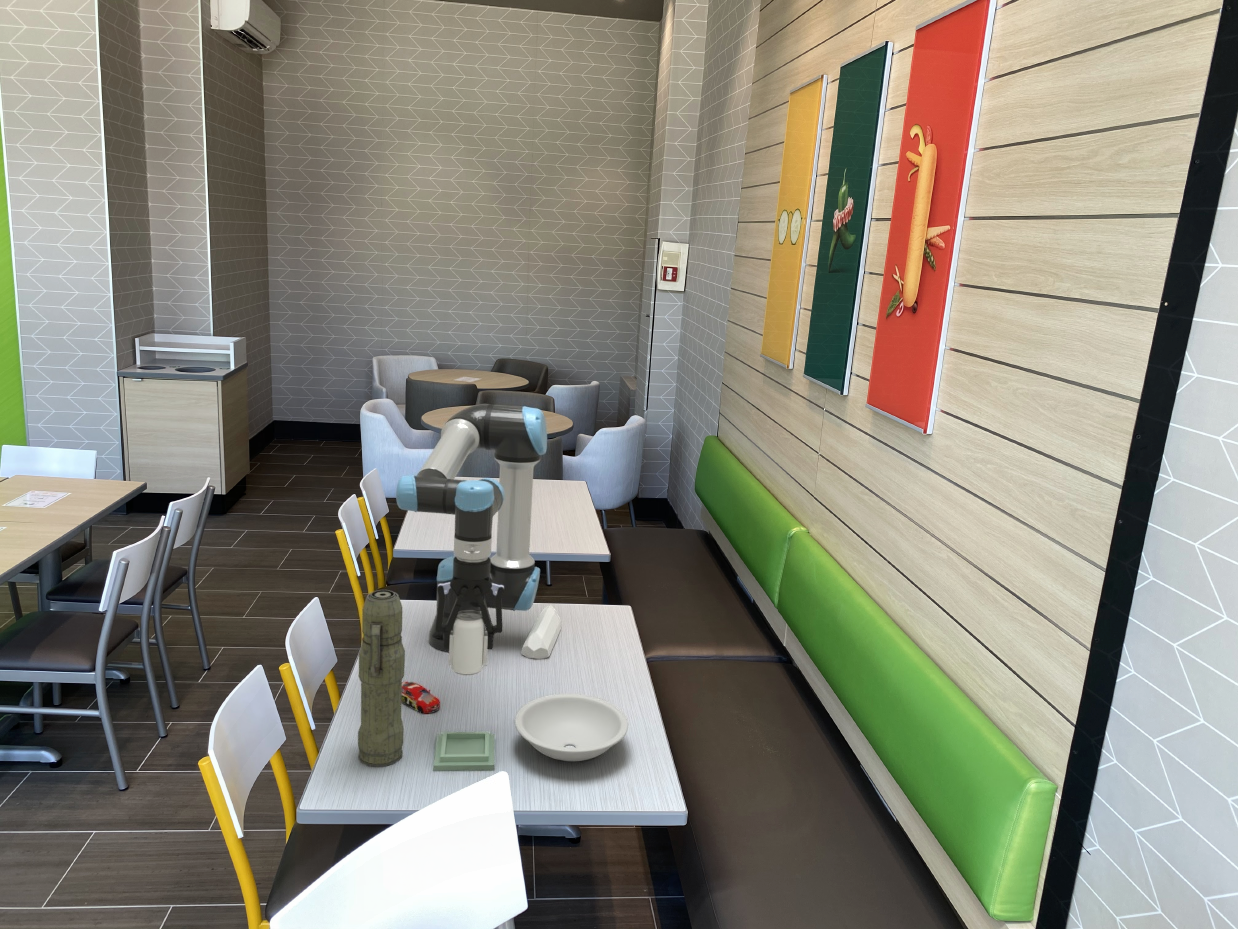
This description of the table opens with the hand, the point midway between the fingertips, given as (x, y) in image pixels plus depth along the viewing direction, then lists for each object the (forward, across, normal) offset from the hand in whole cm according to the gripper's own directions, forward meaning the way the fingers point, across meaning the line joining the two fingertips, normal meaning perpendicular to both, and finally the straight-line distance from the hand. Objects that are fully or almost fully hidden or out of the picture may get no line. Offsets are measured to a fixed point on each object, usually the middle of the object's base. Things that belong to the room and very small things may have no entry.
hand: (467, 662), depth 182 cm
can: (+2, 0, 0) cm, 2 cm away
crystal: (+17, +18, +51) cm, 57 cm away
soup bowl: (+18, +22, -3) cm, 29 cm away
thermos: (+18, -17, -5) cm, 25 cm away
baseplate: (+18, 0, -5) cm, 19 cm away
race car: (+18, -12, +17) cm, 28 cm away
